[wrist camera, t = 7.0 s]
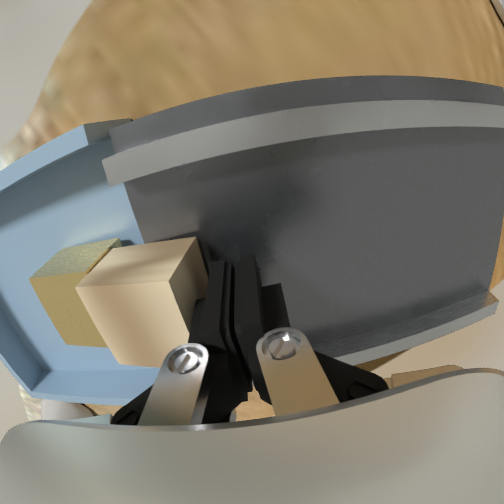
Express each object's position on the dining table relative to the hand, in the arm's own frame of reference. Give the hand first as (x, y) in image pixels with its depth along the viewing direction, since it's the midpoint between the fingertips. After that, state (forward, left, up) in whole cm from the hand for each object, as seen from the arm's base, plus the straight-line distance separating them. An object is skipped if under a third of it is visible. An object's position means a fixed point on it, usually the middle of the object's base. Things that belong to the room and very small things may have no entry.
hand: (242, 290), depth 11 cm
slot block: (-5, 0, -5) cm, 8 cm away
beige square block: (+3, 0, -1) cm, 4 cm away
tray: (+12, 0, -5) cm, 13 cm away
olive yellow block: (+7, -1, -3) cm, 8 cm away
